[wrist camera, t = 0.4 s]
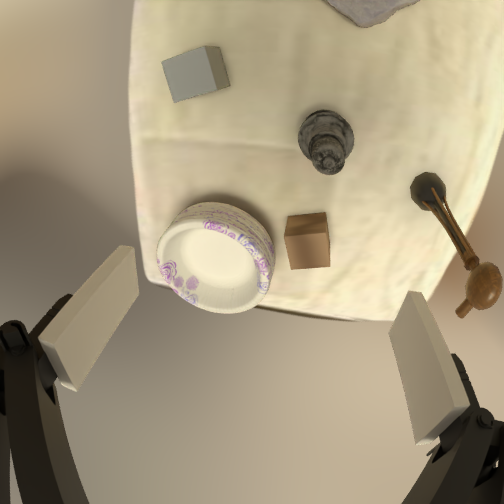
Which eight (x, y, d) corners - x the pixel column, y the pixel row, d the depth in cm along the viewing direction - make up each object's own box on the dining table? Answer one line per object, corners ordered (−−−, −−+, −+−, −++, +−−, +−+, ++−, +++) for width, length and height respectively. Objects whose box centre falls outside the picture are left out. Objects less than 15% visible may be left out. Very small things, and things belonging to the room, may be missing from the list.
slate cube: (219, 47, 28) (204, 46, 24) (230, 85, 31) (217, 90, 27) (180, 60, 30) (161, 61, 26) (191, 96, 32) (174, 103, 28)
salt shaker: (320, 97, 30) (323, 115, 20) (361, 130, 31) (380, 164, 21) (289, 134, 33) (277, 170, 24) (328, 165, 34) (332, 212, 25)
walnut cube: (325, 211, 38) (326, 232, 34) (329, 243, 41) (330, 266, 37) (288, 216, 40) (283, 236, 36) (294, 247, 42) (291, 269, 38)
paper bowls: (162, 241, 47) (139, 273, 40) (209, 169, 38) (185, 196, 32) (240, 293, 50) (228, 330, 44) (301, 236, 41) (296, 274, 35)
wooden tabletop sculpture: (428, 217, 35) (480, 336, 19) (400, 204, 35) (446, 325, 19) (449, 181, 31) (524, 288, 16) (421, 165, 31) (493, 270, 16)
